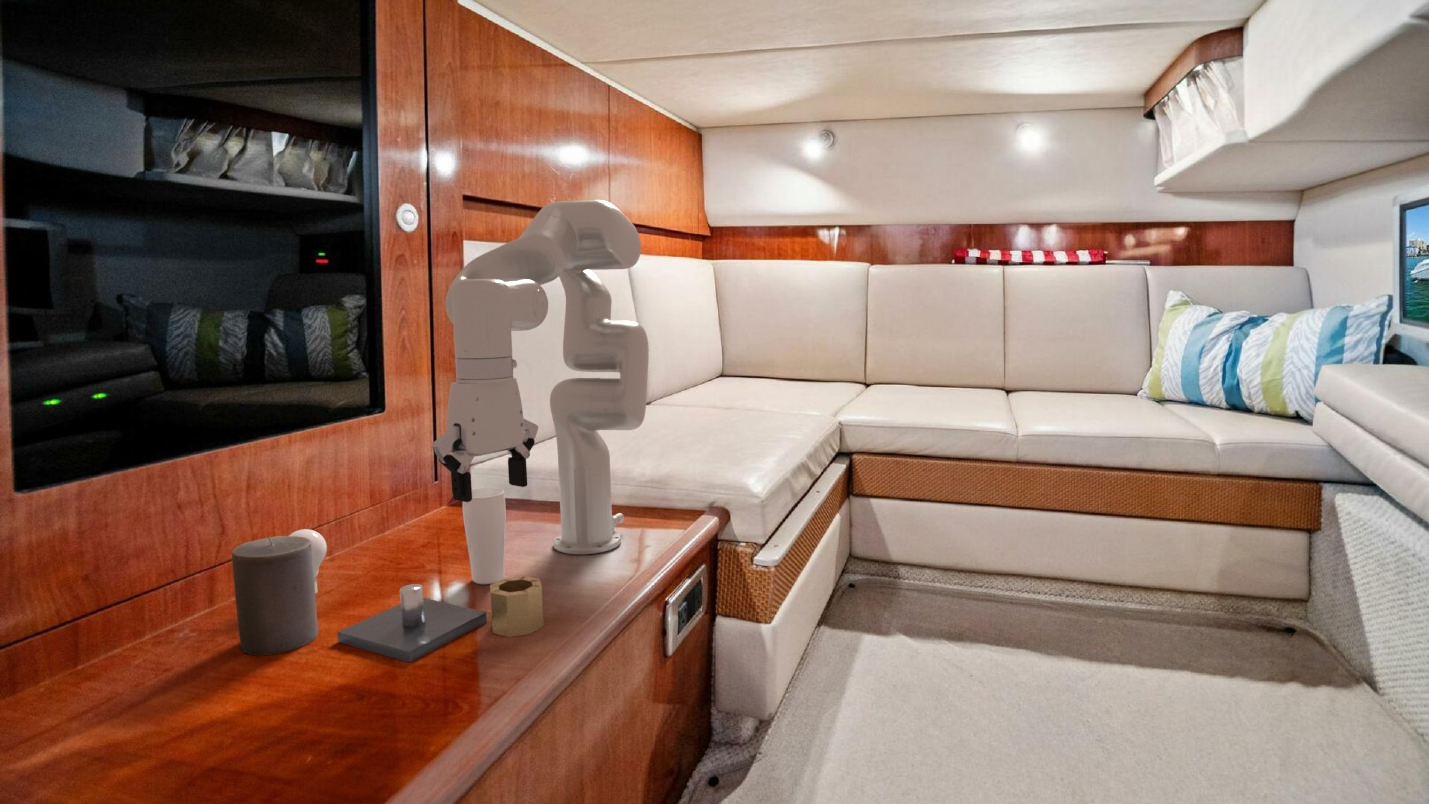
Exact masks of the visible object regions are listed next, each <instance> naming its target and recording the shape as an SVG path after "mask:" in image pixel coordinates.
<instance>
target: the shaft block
mask: <svg viewBox="0 0 1429 804" xmlns="http://www.w3.org/2000/svg"><path fill="white" fill-rule="evenodd" d="M399 597H400V604H398V605H397V604H396V605H395V606H393V607H390V608H387V609H386V610H384V611H382V612H380V613H377V614H374V615H372V616H370V617H368V618H365V619H363V620H360V621H358V622H356V623H354V624H352V625H350V626H347V627H345V628H343V629H341V630H338V631H337V642H338V643H340V644H343V645H348V646H351V647H354V648H357V649H361V650H364V651H367V652H372V653H375V654H379V655H381V656H382V655H383V656H385V657H388V658H393V659H396V660H400V661H402V662H406V663H411V662H412V663H413V661H416V660H417V659H419V658H421V657H424V656H425V655H427V654H429V653H431V652H433V651H435V650H437V649H438V648H440V647H442V646H444V645H445V644H448V643H450V642H451V641H453V640H456V639H458V638H459V637H461V636H463V635H465V634H467V633H468V632H470V631H472V630H475V629H476V628H478V627H481V626H482V625H484V624H486V623H487V622H488V620H487V619H488V618H487V612H486V611H483V610H482V611H481V610H478V609H474V608H470V607H465V606H461V605H458V604H457V605H456V604H452V603H448V602H444V601H439V600H434V599H432V598H431V599H430V598H425V597H424V589H423V585H422V584H419V583H414V584H413V583H412V584H407V585H404V586H402V587H400V588H399Z"/></svg>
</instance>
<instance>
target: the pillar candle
mask: <svg viewBox="0 0 1429 804" xmlns="http://www.w3.org/2000/svg"><path fill="white" fill-rule="evenodd" d="M311 543H312V541H311V540H309V539H307V538H305V537H297V536H289V535H283V536H282V535H278V536H272V537H271V536H268V537H265V538H260V539H255V540H252V541H248V542H244V543H241V544H240V545H237V546H236V547H235V548H233V549H232V551H231V561H232V562H231V564H232V574H233V575H232V576H233V584H234V586H233V587H234V596H235V608H236V617H237V618H236V619H237V627H238V636H239V643H240V645H239V649H240V651H241V652H242V653H244V654H247V655H251V656H270V655H277V654H283V653H286V652H291V651H295V650H298V649H300V648H302V647H304V646H306V645H308V644H310V643H311V642H313V641H314V640H315V639H316V638H317V637H318V634H319V631H318V629H319V628H318V627H319V626H318V617H317V615H318V614H317V600H316V594H315V586H314V574H313V562H312V548H311Z"/></svg>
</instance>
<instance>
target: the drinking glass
mask: <svg viewBox="0 0 1429 804" xmlns="http://www.w3.org/2000/svg"><path fill="white" fill-rule="evenodd" d="M461 502H462V519H463V524H464V526H463V527H464V531H465V537H466V545H467V550H468V556H469V563H470V573H471V580H472V582H473V583H475V584H478V585H492V584H494V583H496V582H498V581H500V580H502V579H505V574H506V572H505V569H506V568H505V553H506V552H505V551H506V549H505V548H506V525H507V524H506V522H507V521H506V520H507V519H506V516H507V514H506V513H507V512H506V509H507V507H506V498H505V490H504V489H501V488H498V487H480V488H474V489H472V500H471V501H470V502H463V501H461Z"/></svg>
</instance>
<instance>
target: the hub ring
mask: <svg viewBox="0 0 1429 804" xmlns="http://www.w3.org/2000/svg"><path fill="white" fill-rule="evenodd" d="M489 588H490V590H489V591H490V607H491V608H490V609H491V622H492V623H491V624H492V634H494V635H495V634H496V635H498V636H502V637H507V638H512V637H518V636H526V635H531V634H533V633H534V632H536V631H538V630H539V629H541V628H543V627H544V607H543V590H542V588H543V587H542V582H541V579H540V578H536V577H535V578H534V577H530V576H524V575H523V576H517V577H516V576H515V577H506V578H505V577H504V578H503V579H502V580H500V581H498V582H496V583H493V584H489Z"/></svg>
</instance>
